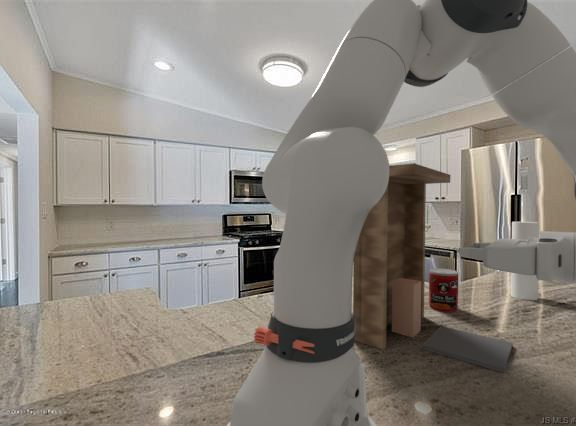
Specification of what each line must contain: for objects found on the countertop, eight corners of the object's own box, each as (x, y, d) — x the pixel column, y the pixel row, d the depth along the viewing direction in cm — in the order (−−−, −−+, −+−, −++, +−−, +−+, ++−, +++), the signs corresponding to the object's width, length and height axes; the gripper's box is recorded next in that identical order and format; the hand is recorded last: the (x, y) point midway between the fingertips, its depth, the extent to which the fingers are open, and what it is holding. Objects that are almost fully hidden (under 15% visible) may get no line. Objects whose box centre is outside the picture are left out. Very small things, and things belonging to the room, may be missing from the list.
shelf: (448, 322, 79) (450, 174, 78) (412, 359, 60) (414, 163, 59) (398, 310, 88) (400, 177, 87) (352, 339, 68) (354, 168, 68)
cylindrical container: (505, 295, 104) (507, 221, 104) (518, 293, 107) (519, 221, 107) (529, 301, 98) (531, 222, 97) (542, 298, 101) (543, 222, 100)
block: (420, 330, 74) (421, 281, 73) (413, 337, 70) (413, 285, 70) (399, 325, 77) (400, 277, 77) (391, 331, 73) (392, 281, 73)
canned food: (428, 309, 89) (428, 272, 89) (429, 302, 96) (430, 267, 96) (458, 314, 85) (458, 274, 85) (457, 306, 92) (458, 269, 92)
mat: (512, 346, 65) (512, 342, 65) (503, 372, 55) (504, 368, 55) (441, 329, 75) (441, 325, 75) (422, 348, 64) (422, 345, 64)
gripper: (552, 234, 64) (475, 230, 73) (550, 243, 48) (453, 238, 57) (551, 264, 64) (475, 257, 73) (549, 283, 48) (453, 271, 58)
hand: (465, 249), depth 65 cm, fingers open, 8 cm apart
